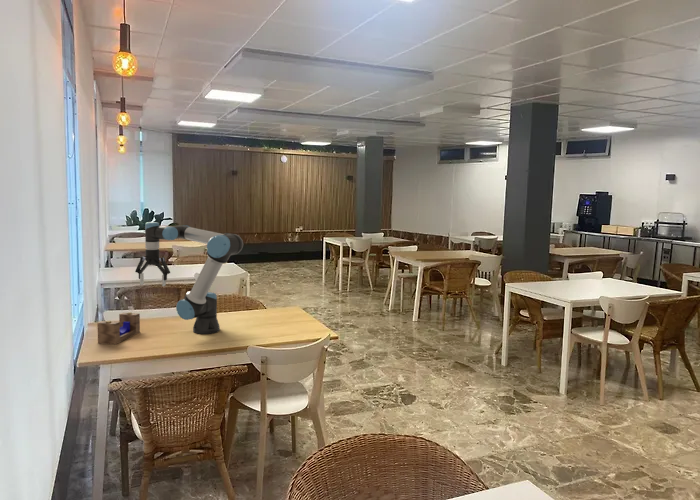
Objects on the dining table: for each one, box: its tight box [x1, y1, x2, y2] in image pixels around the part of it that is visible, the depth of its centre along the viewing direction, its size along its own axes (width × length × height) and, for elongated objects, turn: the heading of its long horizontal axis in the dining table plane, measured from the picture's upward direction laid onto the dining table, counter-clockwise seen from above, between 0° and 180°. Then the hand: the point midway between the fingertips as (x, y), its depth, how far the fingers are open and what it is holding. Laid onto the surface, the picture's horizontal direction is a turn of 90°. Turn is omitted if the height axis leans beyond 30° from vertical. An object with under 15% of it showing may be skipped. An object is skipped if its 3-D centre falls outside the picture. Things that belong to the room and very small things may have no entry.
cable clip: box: [120, 322, 130, 336], centre depth 278 cm, size 12×4×6 cm, turn 171°
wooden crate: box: [97, 311, 141, 345], centre depth 278 cm, size 10×24×12 cm, turn 173°
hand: (152, 285), depth 293 cm, fingers open, 13 cm apart
